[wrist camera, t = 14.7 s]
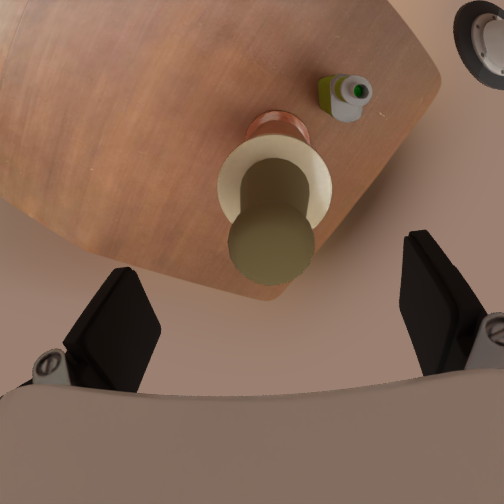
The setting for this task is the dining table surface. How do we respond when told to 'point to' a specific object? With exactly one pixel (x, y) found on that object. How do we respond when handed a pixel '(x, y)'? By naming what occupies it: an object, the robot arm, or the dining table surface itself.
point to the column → (276, 146)
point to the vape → (344, 96)
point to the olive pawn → (272, 223)
